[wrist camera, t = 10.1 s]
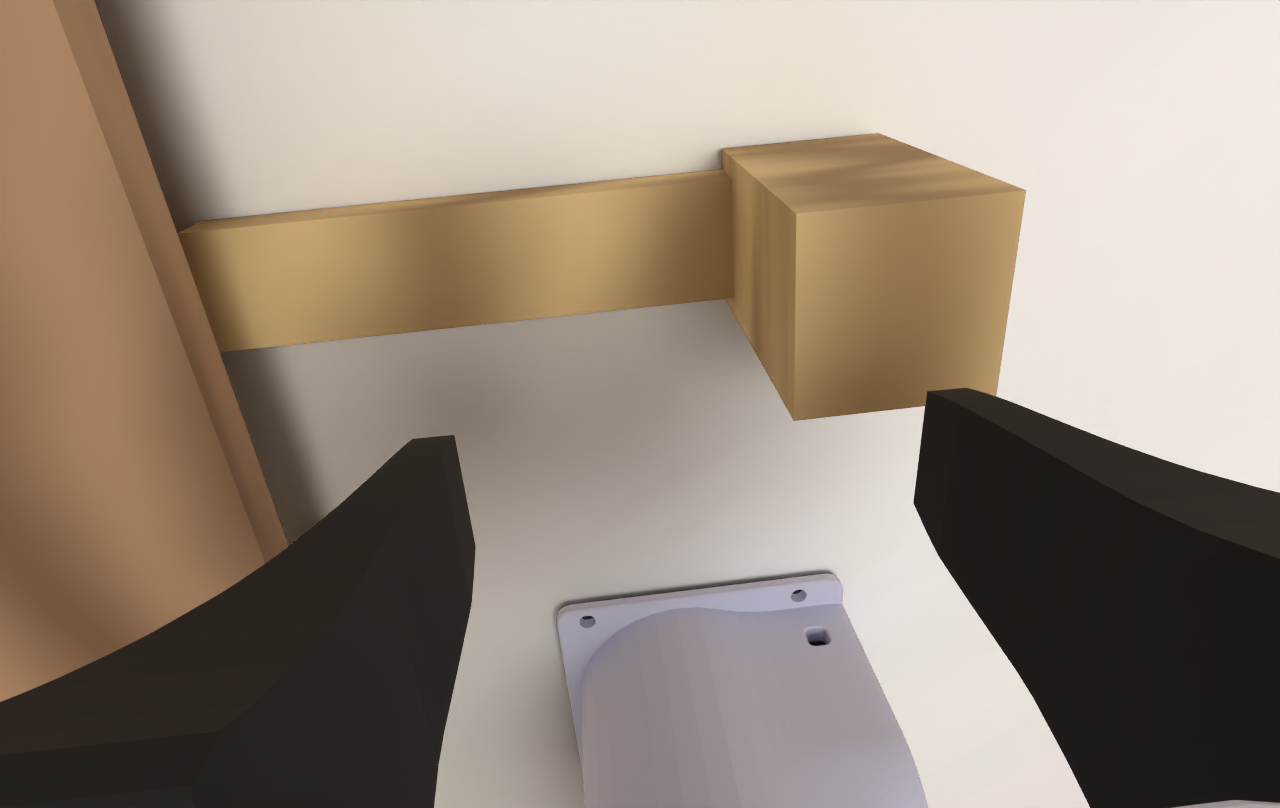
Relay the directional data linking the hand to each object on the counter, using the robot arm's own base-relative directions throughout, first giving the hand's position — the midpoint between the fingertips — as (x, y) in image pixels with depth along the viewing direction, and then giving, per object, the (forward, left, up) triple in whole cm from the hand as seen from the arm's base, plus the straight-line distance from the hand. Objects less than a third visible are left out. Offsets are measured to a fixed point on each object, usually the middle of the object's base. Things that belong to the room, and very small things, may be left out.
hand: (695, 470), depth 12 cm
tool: (+2, -1, -10) cm, 10 cm away
